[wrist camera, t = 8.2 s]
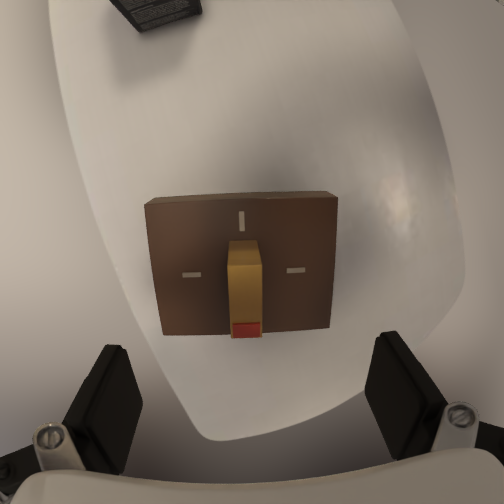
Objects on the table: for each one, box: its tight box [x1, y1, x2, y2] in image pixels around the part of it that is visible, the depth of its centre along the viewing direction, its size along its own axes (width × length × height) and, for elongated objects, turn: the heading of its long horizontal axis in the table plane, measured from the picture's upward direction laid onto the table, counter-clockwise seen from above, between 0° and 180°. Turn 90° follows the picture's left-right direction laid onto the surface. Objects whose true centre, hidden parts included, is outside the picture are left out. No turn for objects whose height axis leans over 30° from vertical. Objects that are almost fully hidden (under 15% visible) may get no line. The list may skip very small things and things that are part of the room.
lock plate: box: [144, 191, 338, 335], centre depth 25 cm, size 14×11×3 cm
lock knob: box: [227, 240, 262, 338], centre depth 21 cm, size 5×2×5 cm, turn 1°
